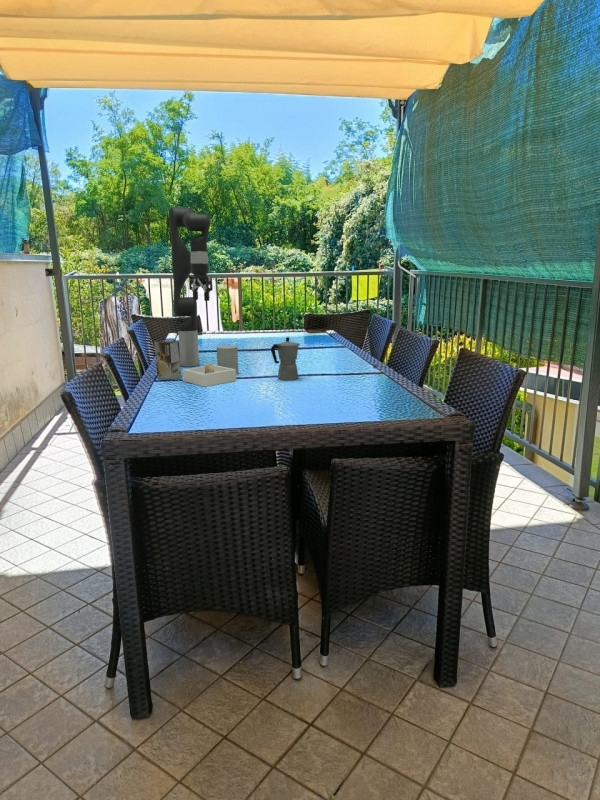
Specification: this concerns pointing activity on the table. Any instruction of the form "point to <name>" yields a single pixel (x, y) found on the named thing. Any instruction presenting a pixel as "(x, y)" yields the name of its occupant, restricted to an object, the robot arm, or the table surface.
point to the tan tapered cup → (209, 368)
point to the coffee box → (168, 359)
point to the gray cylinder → (228, 357)
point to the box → (209, 376)
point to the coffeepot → (286, 360)
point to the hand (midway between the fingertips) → (201, 300)
